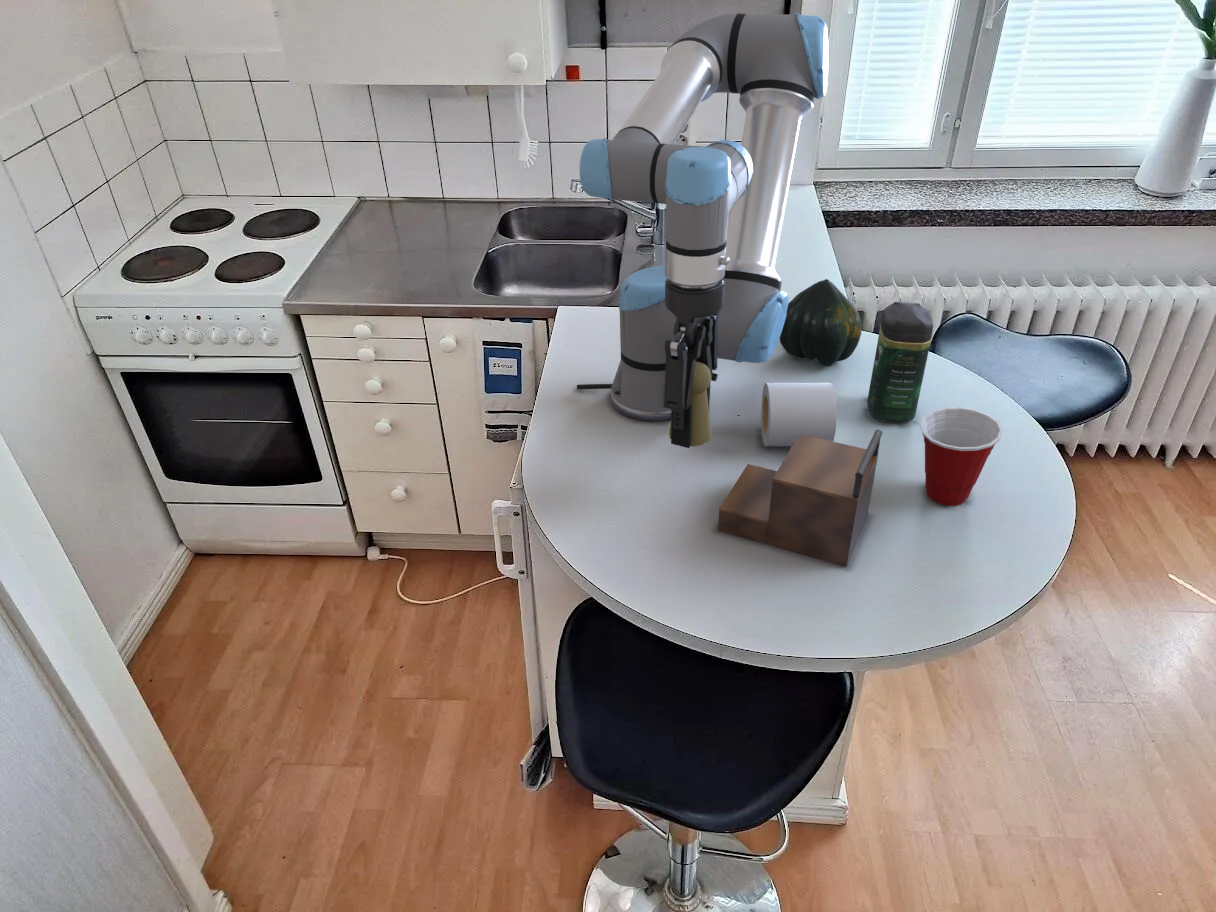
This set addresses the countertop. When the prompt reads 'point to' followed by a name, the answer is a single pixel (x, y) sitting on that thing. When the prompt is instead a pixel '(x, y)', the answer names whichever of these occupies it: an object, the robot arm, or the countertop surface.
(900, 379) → the coffee jar
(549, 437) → the countertop surface
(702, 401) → the pale yellow rounded piece
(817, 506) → the brown wooden stepped block
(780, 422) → the toilet paper
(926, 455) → the plastic cup
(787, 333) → the squash
